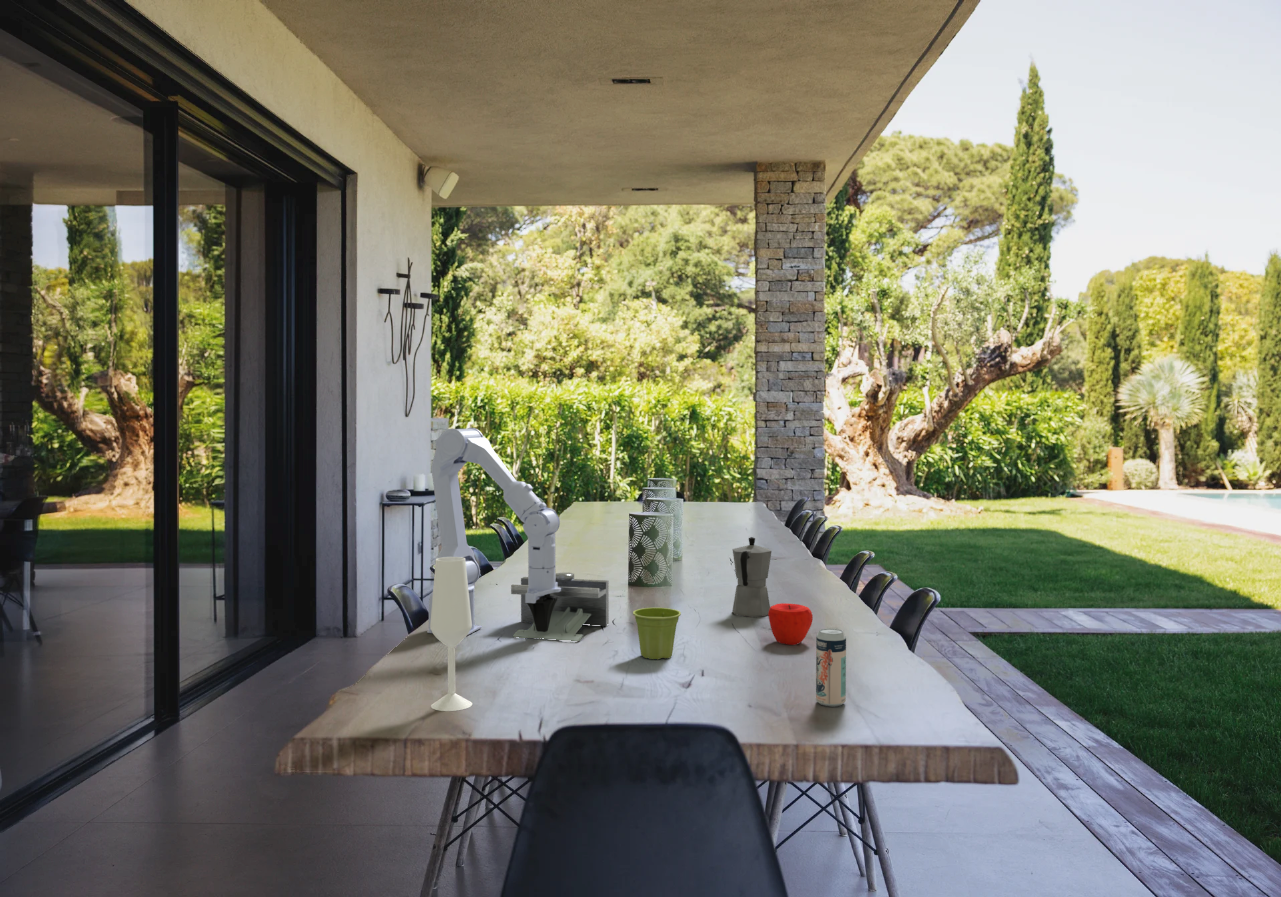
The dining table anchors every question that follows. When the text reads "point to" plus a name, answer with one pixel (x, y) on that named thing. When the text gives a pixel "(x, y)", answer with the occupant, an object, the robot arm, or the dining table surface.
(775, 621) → the apple
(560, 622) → the metal bracket
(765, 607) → the coffeepot
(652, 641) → the plant pot
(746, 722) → the dining table surface
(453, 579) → the champagne flute
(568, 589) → the stand
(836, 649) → the beer can
